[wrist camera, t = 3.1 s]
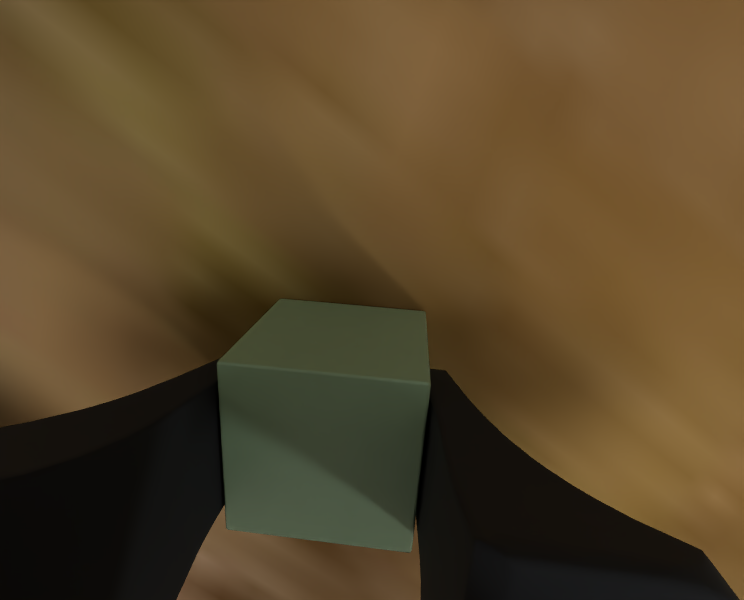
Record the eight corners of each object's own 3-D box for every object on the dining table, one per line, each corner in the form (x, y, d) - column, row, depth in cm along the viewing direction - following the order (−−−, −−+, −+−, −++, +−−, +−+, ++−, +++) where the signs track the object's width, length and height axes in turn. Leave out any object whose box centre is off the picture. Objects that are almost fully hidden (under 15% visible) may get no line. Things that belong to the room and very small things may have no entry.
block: (412, 437, 13) (411, 554, 9) (280, 423, 13) (225, 530, 9) (425, 310, 11) (431, 383, 8) (279, 297, 12) (215, 361, 8)
